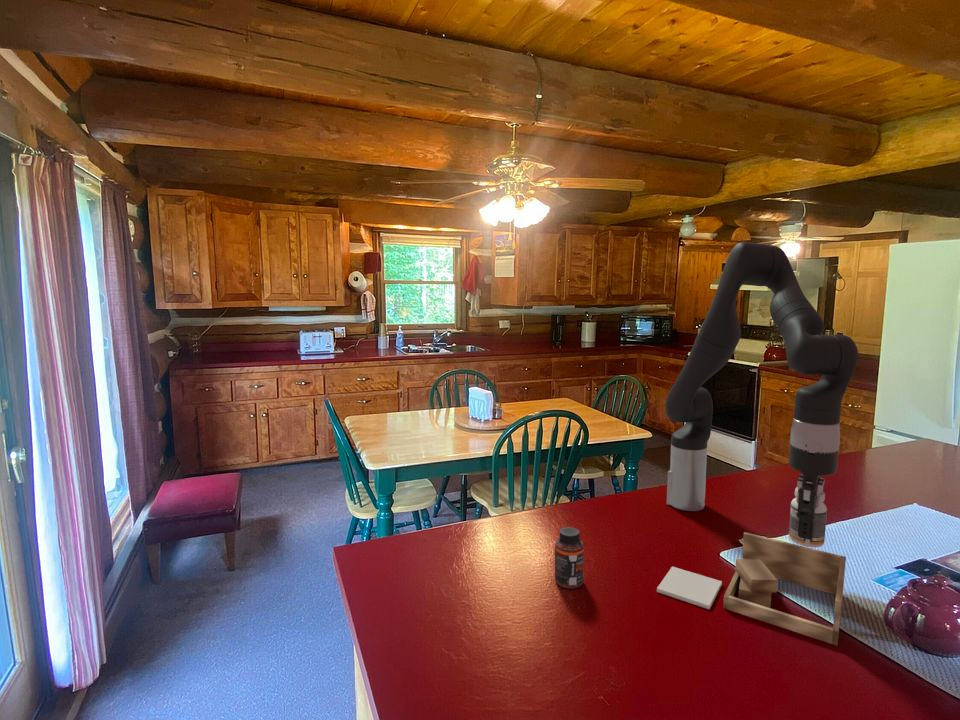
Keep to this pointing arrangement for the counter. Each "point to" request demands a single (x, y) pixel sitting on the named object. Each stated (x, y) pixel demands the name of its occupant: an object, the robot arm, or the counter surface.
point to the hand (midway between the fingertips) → (806, 530)
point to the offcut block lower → (754, 595)
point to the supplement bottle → (569, 559)
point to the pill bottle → (818, 524)
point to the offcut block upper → (756, 575)
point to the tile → (690, 587)
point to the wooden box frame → (796, 568)
